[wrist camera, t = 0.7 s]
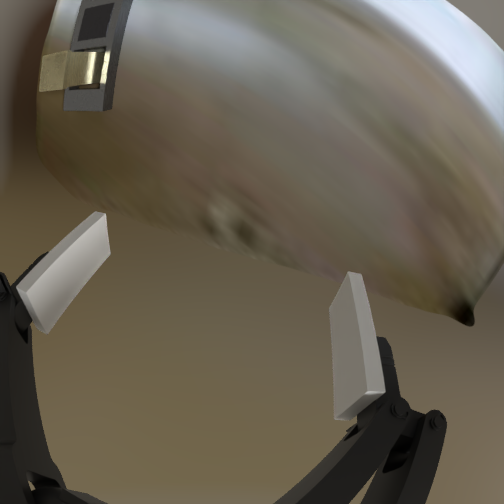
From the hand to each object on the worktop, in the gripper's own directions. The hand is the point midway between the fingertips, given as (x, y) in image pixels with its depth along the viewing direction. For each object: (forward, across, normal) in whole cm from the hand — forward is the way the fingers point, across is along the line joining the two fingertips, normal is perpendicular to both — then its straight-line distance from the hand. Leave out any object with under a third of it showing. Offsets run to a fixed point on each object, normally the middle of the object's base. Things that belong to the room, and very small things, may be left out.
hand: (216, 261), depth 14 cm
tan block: (+26, -29, +10) cm, 40 cm away
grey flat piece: (+26, -29, +13) cm, 41 cm away
